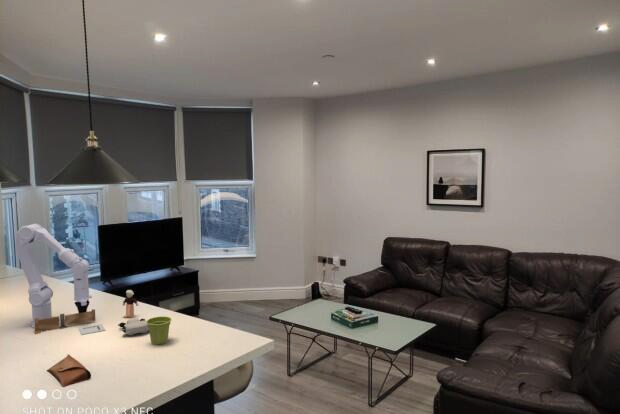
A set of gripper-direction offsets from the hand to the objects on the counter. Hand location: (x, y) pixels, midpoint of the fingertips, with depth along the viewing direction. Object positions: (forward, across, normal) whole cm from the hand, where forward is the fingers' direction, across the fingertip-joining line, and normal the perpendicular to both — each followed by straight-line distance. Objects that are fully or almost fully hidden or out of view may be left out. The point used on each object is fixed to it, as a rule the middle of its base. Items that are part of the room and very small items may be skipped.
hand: (82, 317), depth 192 cm
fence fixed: (+2, -3, +12) cm, 13 cm away
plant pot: (+2, -43, -22) cm, 49 cm away
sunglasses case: (+3, -54, +11) cm, 56 cm away
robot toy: (+2, -25, -17) cm, 31 cm away
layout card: (+2, -13, -2) cm, 14 cm away
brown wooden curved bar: (+1, -3, +2) cm, 4 cm away
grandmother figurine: (+2, -5, -19) cm, 20 cm away
